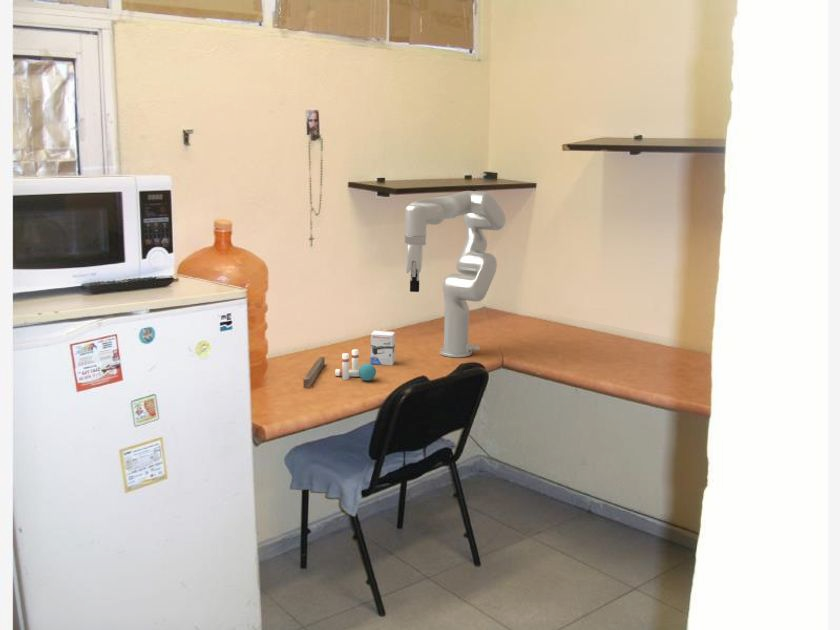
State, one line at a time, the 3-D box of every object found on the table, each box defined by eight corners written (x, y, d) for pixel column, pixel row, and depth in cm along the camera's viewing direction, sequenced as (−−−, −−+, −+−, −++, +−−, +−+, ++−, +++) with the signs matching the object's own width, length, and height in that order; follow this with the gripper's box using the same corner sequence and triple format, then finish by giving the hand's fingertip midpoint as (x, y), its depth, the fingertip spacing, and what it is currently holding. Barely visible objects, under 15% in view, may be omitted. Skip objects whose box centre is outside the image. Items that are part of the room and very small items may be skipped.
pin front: (361, 370, 283) (336, 369, 284) (360, 369, 281) (335, 368, 281) (361, 377, 283) (335, 376, 283) (360, 376, 280) (334, 375, 281)
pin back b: (349, 378, 280) (349, 353, 278) (348, 380, 278) (348, 355, 276) (342, 377, 281) (342, 353, 279) (341, 379, 278) (341, 354, 276)
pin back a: (359, 373, 286) (359, 349, 284) (358, 375, 283) (358, 351, 281) (352, 373, 286) (352, 349, 284) (351, 375, 283) (351, 351, 281)
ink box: (370, 364, 298) (370, 333, 295) (372, 360, 303) (372, 330, 300) (392, 365, 297) (393, 334, 294) (394, 362, 301) (395, 331, 299)
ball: (360, 375, 282) (376, 369, 282) (363, 386, 277) (379, 380, 277) (355, 363, 278) (371, 357, 278) (357, 374, 273) (374, 369, 273)
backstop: (324, 364, 296) (324, 356, 295) (309, 387, 269) (309, 379, 268) (319, 364, 296) (319, 356, 295) (303, 387, 269) (303, 379, 268)
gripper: (406, 237, 289) (405, 287, 293) (403, 242, 275) (402, 295, 279) (427, 237, 289) (426, 287, 293) (424, 243, 274) (423, 295, 278)
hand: (414, 291), depth 286 cm, fingers closed
